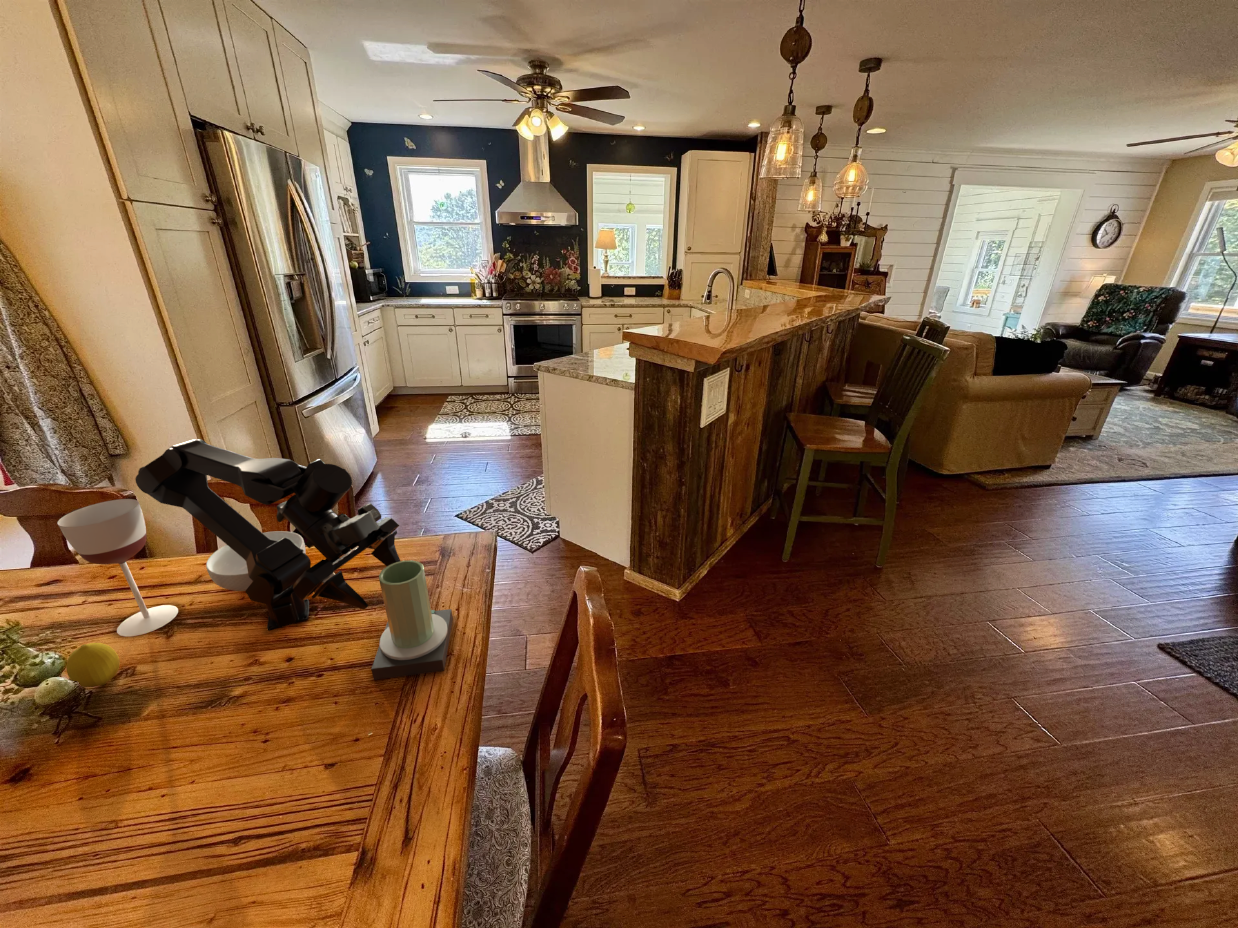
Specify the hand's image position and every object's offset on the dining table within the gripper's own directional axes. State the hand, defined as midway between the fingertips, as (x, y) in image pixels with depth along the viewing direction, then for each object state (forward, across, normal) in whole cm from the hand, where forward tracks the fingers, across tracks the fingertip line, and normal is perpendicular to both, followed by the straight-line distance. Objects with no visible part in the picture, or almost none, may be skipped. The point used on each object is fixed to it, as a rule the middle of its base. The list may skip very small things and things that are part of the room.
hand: (386, 590), depth 84 cm
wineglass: (-26, -8, +42) cm, 50 cm away
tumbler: (+9, 0, +3) cm, 9 cm away
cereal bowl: (-19, +8, +36) cm, 41 cm away
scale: (+11, 0, +5) cm, 12 cm away
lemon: (-19, -21, +35) cm, 45 cm away
